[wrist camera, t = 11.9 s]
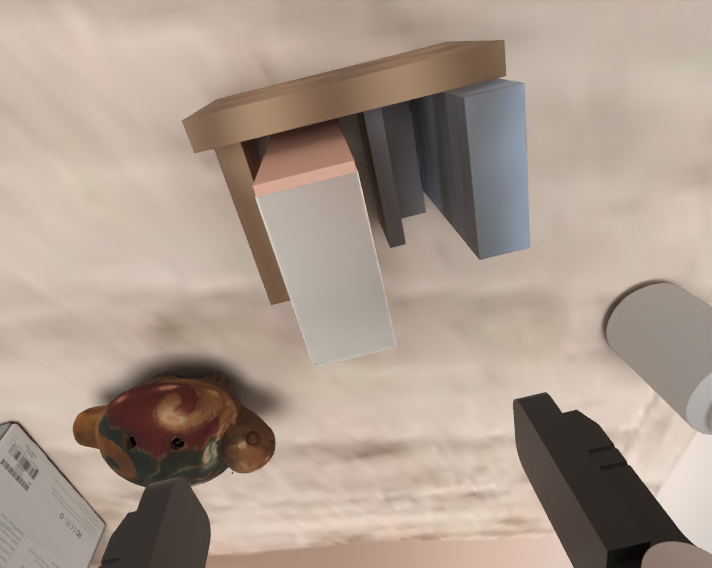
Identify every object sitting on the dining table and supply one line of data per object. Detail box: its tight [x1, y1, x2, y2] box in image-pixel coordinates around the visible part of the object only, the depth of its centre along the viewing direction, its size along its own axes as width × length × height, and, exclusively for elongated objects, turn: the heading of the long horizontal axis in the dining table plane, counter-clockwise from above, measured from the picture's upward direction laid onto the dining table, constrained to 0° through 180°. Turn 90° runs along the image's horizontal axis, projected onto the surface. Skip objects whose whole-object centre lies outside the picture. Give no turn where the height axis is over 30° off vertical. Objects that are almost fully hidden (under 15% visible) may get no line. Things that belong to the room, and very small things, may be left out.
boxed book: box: [253, 118, 397, 367], centre depth 26 cm, size 4×9×14 cm, turn 13°
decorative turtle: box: [73, 372, 275, 487], centre depth 36 cm, size 10×15×8 cm, turn 90°
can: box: [606, 283, 712, 435], centre depth 35 cm, size 8×8×12 cm
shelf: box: [182, 40, 530, 305], centre depth 26 cm, size 15×12×12 cm
